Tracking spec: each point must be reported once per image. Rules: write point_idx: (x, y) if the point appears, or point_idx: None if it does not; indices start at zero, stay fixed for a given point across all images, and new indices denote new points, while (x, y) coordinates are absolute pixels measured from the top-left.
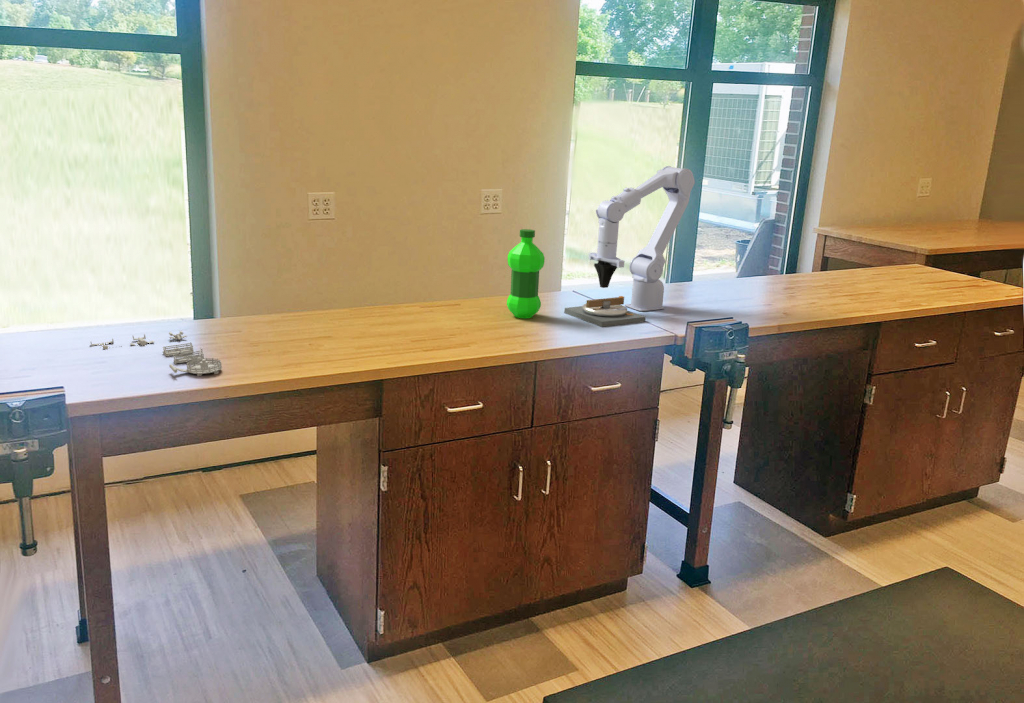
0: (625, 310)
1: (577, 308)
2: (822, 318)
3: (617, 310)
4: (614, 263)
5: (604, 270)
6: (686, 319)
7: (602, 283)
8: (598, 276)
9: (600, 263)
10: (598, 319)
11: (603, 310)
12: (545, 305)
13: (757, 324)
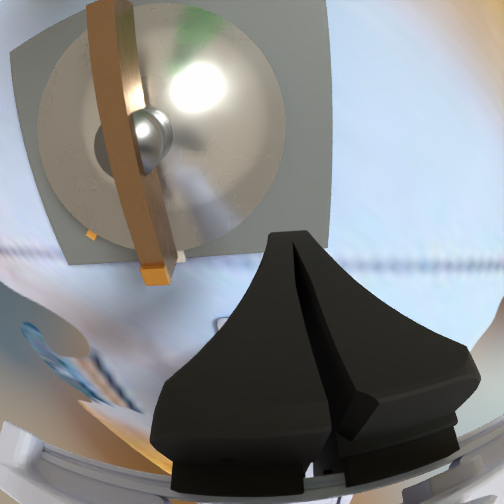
0: (69, 210)
1: (286, 23)
2: (138, 449)
3: (69, 171)
4: (104, 489)
5: (190, 363)
6: (115, 358)
7: (267, 248)
8: (346, 276)
9: (395, 440)
10: (37, 44)
11: (76, 93)
12: (468, 21)
13: (92, 405)
